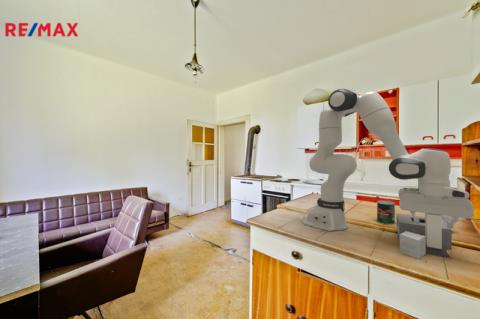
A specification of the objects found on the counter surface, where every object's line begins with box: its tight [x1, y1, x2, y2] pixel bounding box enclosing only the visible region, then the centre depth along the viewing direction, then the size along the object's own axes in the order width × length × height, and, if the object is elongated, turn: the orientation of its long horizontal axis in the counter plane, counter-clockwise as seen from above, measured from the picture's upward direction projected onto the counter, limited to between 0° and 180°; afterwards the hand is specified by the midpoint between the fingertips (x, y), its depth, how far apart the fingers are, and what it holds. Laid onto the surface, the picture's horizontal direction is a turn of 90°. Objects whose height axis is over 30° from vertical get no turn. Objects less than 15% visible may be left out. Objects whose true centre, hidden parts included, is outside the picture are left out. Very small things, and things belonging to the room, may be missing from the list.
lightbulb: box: [442, 215, 453, 224], centre depth 92 cm, size 6×6×11 cm
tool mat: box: [425, 245, 450, 259], centre depth 75 cm, size 7×7×1 cm
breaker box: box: [395, 213, 453, 250], centre depth 86 cm, size 16×14×8 cm
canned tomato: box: [376, 200, 396, 225], centre depth 106 cm, size 8×8×11 cm
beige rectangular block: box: [424, 213, 442, 252], centre depth 75 cm, size 4×4×14 cm
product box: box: [399, 231, 427, 260], centre depth 74 cm, size 6×6×7 cm
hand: (432, 224), depth 75 cm, fingers open, 8 cm apart
